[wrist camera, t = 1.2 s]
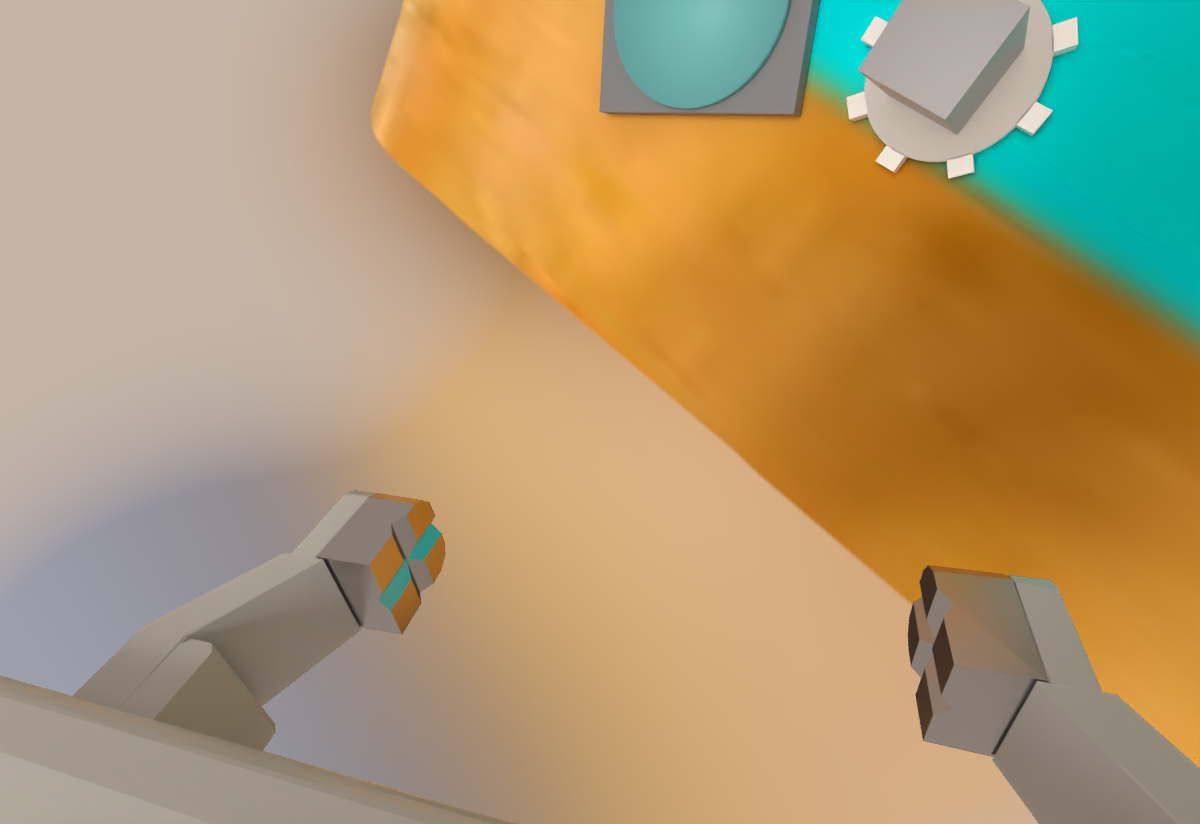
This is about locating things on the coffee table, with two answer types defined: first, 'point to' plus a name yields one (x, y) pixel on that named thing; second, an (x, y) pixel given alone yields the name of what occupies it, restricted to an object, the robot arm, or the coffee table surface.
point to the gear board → (706, 56)
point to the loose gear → (957, 77)
